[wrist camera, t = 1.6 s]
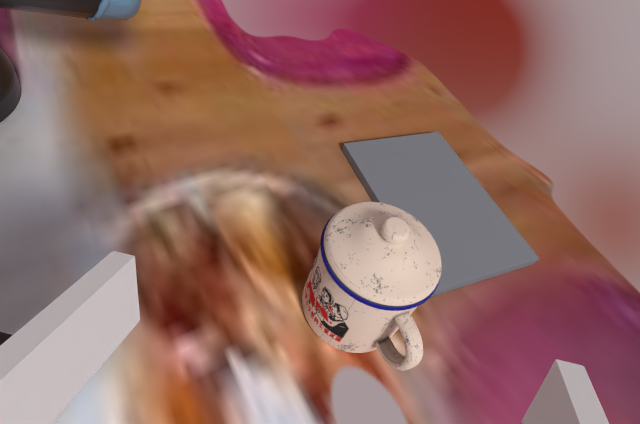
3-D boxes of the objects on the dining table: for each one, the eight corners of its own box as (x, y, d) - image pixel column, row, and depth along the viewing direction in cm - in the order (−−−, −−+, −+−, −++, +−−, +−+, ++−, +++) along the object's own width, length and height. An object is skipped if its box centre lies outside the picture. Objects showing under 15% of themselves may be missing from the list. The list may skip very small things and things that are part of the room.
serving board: (341, 149, 51) (343, 143, 50) (435, 137, 56) (438, 131, 56) (430, 297, 40) (434, 292, 39) (533, 263, 46) (539, 258, 45)
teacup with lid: (283, 273, 38) (311, 185, 29) (371, 253, 42) (419, 169, 33) (336, 410, 32) (391, 348, 23) (434, 372, 35) (513, 307, 27)
